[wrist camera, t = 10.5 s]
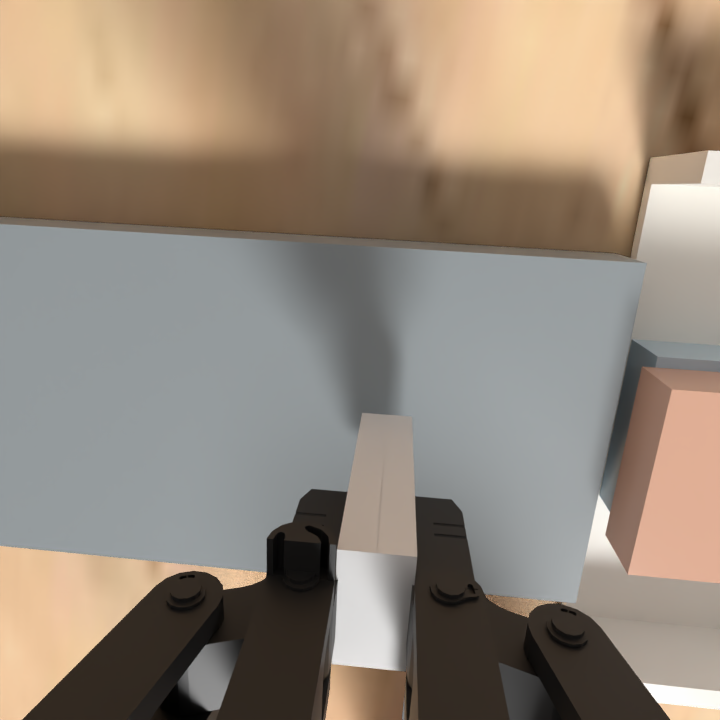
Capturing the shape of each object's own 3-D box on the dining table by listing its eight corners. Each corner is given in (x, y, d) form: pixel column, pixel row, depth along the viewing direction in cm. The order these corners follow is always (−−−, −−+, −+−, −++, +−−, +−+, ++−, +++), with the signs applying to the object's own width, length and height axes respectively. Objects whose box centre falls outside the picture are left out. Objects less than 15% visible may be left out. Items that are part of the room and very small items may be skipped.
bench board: (29, 507, 23) (-15, 544, 21) (-16, 215, 20) (-75, 219, 17) (557, 557, 22) (575, 603, 19) (615, 253, 18) (646, 263, 16)
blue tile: (599, 495, 20) (619, 527, 18) (631, 339, 18) (657, 356, 17) (768, 510, 20) (806, 544, 18) (819, 352, 18) (867, 371, 16)
